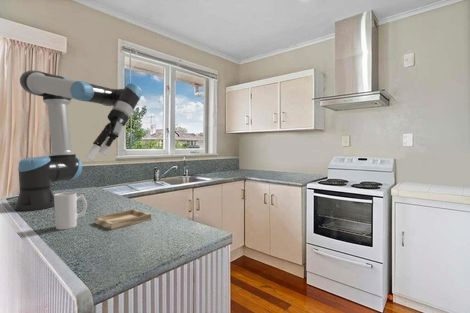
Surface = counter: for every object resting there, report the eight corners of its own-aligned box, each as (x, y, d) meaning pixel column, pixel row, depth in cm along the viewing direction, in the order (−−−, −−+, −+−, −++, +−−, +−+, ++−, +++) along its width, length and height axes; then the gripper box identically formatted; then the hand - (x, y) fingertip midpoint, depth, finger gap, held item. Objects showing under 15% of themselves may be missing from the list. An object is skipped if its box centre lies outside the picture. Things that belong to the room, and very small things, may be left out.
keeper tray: (95, 223, 97) (95, 217, 97) (133, 214, 109) (133, 209, 109) (111, 230, 89) (111, 224, 89) (151, 219, 102) (151, 214, 101)
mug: (56, 231, 88) (54, 196, 87) (54, 226, 93) (52, 193, 92) (89, 225, 94) (88, 192, 94) (85, 221, 99) (85, 190, 99)
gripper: (141, 111, 105) (117, 156, 95) (115, 126, 122) (93, 165, 112) (125, 99, 101) (98, 145, 91) (100, 116, 117) (75, 156, 107)
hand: (95, 156), depth 101 cm, fingers open, 13 cm apart
